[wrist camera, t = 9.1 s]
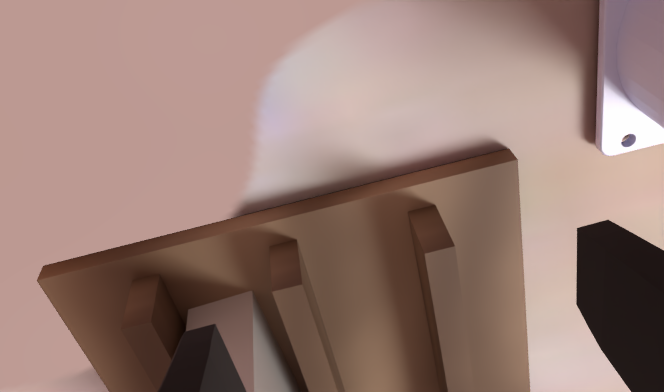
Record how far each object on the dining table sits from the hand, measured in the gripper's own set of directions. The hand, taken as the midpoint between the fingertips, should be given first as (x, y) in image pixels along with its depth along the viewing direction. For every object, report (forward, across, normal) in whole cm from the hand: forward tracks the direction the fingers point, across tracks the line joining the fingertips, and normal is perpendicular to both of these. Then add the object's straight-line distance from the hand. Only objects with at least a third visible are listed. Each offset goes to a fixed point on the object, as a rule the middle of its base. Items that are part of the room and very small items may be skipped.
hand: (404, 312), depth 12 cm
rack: (+9, +3, +12) cm, 16 cm away
